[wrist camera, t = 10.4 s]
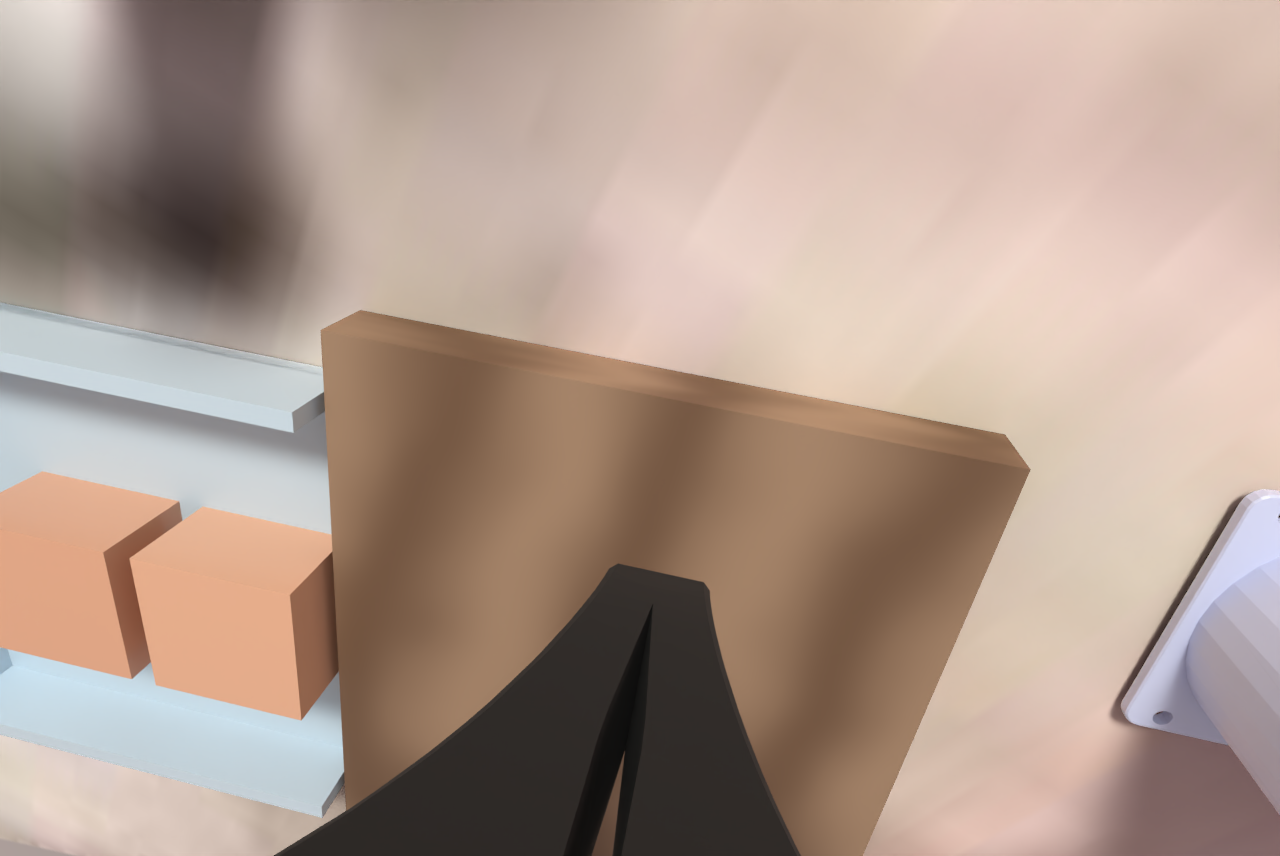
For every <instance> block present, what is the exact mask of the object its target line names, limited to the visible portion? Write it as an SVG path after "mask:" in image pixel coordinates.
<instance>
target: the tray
mask: <svg viewBox="0 0 1280 856" xmlns="http://www.w3.org/2000/svg"><path fill="white" fill-rule="evenodd" d="M42 471H43V472H48V473H52V474H57V475H62V476H66V477H71V478H75V479H80V480H84V481H89V482H94V483H98V484H103V485H107V486H112V487H117V488H121V489H126V490H130V491H135V492H140V493H144V494H149V495H153V496H158V497H162V498H167V499H172V500H176V501H179V503H180V509H181V515H182V521H183V520H184V519H186V518H187V517H188V516H190V515H191V514H193V513H194V512H196V511H197V510H198V509H200V508H201V507H208V508H212V509H217V510H222V511H226V512H231V513H235V514H240V515H245V516H249V517H254V518H258V519H263V520H267V521H272V522H277V523H281V524H286V525H290V526H295V527H300V528H304V529H309V530H313V531H318V532H322V533H327V534H331V515H330V496H329V477H328V458H327V439H326V420H325V402H324V383H323V367H319V366H314V365H309V364H304V363H299V362H294V361H289V360H284V359H279V358H274V357H269V356H264V355H259V354H254V353H249V352H244V351H239V350H234V349H229V348H224V347H219V346H214V345H209V344H204V343H199V342H194V341H190V340H185V339H180V338H175V337H170V336H165V335H160V334H155V333H150V332H145V331H140V330H135V329H130V328H125V327H120V326H115V325H110V324H105V323H100V322H95V321H90V320H85V319H80V318H75V317H70V316H65V315H60V314H55V313H50V312H45V311H40V310H35V309H30V308H25V307H20V306H16V305H11V304H6V303H1V302H0V492H2V491H4V490H6V489H8V488H10V487H12V486H14V485H16V484H18V483H20V482H22V481H24V480H26V479H28V478H30V477H32V476H34V475H36V474H38V473H40V472H42ZM0 735H4V736H7V737H11V738H15V739H19V740H23V741H27V742H31V743H34V744H38V745H42V746H46V747H50V748H54V749H58V750H62V751H65V752H69V753H73V754H77V755H81V756H85V757H89V758H93V759H96V760H100V761H104V762H108V763H112V764H116V765H120V766H123V767H127V768H131V769H135V770H139V771H143V772H147V773H151V774H154V775H158V776H162V777H166V778H170V779H174V780H178V781H182V782H185V783H189V784H193V785H197V786H201V787H205V788H209V789H212V790H216V791H220V792H224V793H228V794H232V795H236V796H240V797H243V798H247V799H251V800H255V801H259V802H263V803H267V804H271V805H274V806H278V807H282V808H286V809H290V810H294V811H298V812H302V813H305V814H309V815H313V816H317V817H321V818H323V816H324V815H325V813H326V811H327V810H328V808H329V807H330V805H331V803H332V802H333V800H334V799H335V797H336V795H337V794H338V792H339V791H340V789H341V787H342V786H343V784H344V783H345V779H344V760H343V741H342V722H341V703H340V684H339V672H338V673H337V674H336V676H335V677H334V678H333V680H332V681H331V682H330V684H329V685H328V686H327V688H326V689H325V690H324V691H323V693H322V694H321V695H320V697H319V698H318V699H317V701H316V702H315V703H314V705H313V706H312V707H311V709H310V710H309V711H308V713H307V714H306V715H305V717H304V718H303V719H302V721H301V720H297V719H293V718H289V717H284V716H280V715H276V714H272V713H268V712H264V711H260V710H256V709H252V708H247V707H243V706H239V705H235V704H231V703H227V702H223V701H219V700H215V699H210V698H206V697H202V696H198V695H194V694H190V693H186V692H182V691H178V690H173V689H169V688H165V687H161V686H157V685H156V684H155V679H154V674H153V669H152V665H151V662H150V663H149V664H148V665H147V666H146V667H145V668H144V669H143V670H142V671H141V672H139V673H138V674H137V675H136V676H135V677H134V678H133V679H129V678H124V677H120V676H116V675H112V674H108V673H104V672H100V671H96V670H92V669H87V668H83V667H79V666H75V665H71V664H67V663H63V662H59V661H55V660H50V659H46V658H42V657H38V656H34V655H30V654H26V653H22V652H18V651H13V650H9V649H5V648H1V647H0Z"/></svg>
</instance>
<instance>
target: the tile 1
mask: <svg viewBox="0 0 1280 856" xmlns="http://www.w3.org/2000/svg"><path fill="white" fill-rule="evenodd" d="M181 521H182V515H181V509H180V503H179V501H176V500H172V499H167V498H162V497H158V496H153V495H149V494H144V493H140V492H135V491H130V490H126V489H121V488H117V487H112V486H107V485H103V484H98V483H94V482H89V481H84V480H80V479H75V478H71V477H66V476H62V475H57V474H52V473H48V472H43V471H42V472H40V473H38V474H36V475H34V476H32V477H30V478H28V479H26V480H24V481H22V482H20V483H18V484H16V485H14V486H12V487H10V488H8V489H6V490H4V491H2V492H0V647H1V648H5V649H9V650H13V651H18V652H22V653H26V654H30V655H34V656H38V657H42V658H46V659H50V660H55V661H59V662H63V663H67V664H71V665H75V666H79V667H83V668H87V669H92V670H96V671H100V672H104V673H108V674H112V675H116V676H120V677H124V678H129V679H133V678H134V677H135V676H136V675H137V674H138V673H139V672H141V671H142V670H143V669H144V668H145V667H146V666H147V665H148V664H149V663H150V662H151V660H150V655H149V650H148V646H147V641H146V636H145V631H144V626H143V622H142V617H141V612H140V607H139V602H138V598H137V593H136V588H135V583H134V578H133V574H132V569H131V564H130V559H129V558H131V557H132V556H134V555H135V554H136V553H138V552H139V551H141V550H142V549H143V548H145V547H146V546H148V545H149V544H150V543H152V542H153V541H155V540H156V539H157V538H159V537H160V536H162V535H163V534H165V533H166V532H167V531H169V530H170V529H172V528H173V527H174V526H176V525H177V524H179V523H180V522H181Z"/></svg>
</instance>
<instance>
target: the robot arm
mask: <svg viewBox="0 0 1280 856" xmlns="http://www.w3.org/2000/svg"><path fill="white" fill-rule="evenodd" d="M1279 515H1280V491H1276V490H1268V489H1261V490H1258V491H1254V492H1252V493H1250V494H1248V495H1247V496H1245V497H1244V498H1243V500H1242V501H1241V502H1240V503H1239V505H1238V507H1237V508H1236V510H1235V512H1234V513H1233V515H1232V517H1231V518H1230V520H1229V522H1228V523H1227V525H1226V527H1225V528H1224V530H1223V532H1222V534H1221V535H1220V537H1219V539H1218V540H1217V542H1216V544H1215V545H1214V547H1213V549H1212V550H1211V552H1210V554H1209V555H1208V557H1207V559H1206V560H1205V562H1204V564H1203V566H1202V567H1201V569H1200V571H1199V572H1198V574H1197V576H1196V577H1195V579H1194V581H1193V582H1192V584H1191V586H1190V587H1189V589H1188V591H1187V592H1186V594H1185V596H1184V597H1183V599H1182V601H1181V603H1180V604H1179V606H1178V608H1177V609H1176V611H1175V613H1174V614H1173V616H1172V618H1171V619H1170V621H1169V623H1168V624H1167V626H1166V628H1165V629H1164V631H1163V633H1162V635H1161V636H1160V638H1159V640H1158V641H1157V643H1156V645H1155V646H1154V648H1153V650H1152V651H1151V653H1150V655H1149V656H1148V658H1147V660H1146V661H1145V663H1144V665H1143V666H1142V668H1141V670H1140V672H1139V673H1138V675H1137V677H1136V678H1135V680H1134V682H1133V683H1132V685H1131V687H1130V688H1129V690H1128V692H1127V693H1126V695H1125V697H1124V698H1123V700H1122V702H1121V710H1122V712H1123V714H1124V715H1125V717H1126V719H1127V720H1128V721H1129V722H1130V723H1133V724H1135V725H1139V726H1144V727H1148V728H1153V729H1157V730H1162V731H1166V732H1170V733H1175V734H1179V735H1184V736H1188V737H1193V738H1197V739H1202V740H1206V741H1211V742H1215V743H1220V744H1224V745H1229V746H1230V748H1231V749H1232V750H1233V752H1234V753H1235V754H1236V756H1237V757H1238V759H1239V760H1240V761H1241V763H1242V764H1243V765H1244V767H1245V768H1246V770H1247V771H1248V772H1249V774H1250V775H1251V776H1252V778H1253V779H1254V781H1255V782H1256V783H1257V785H1258V786H1259V788H1260V789H1261V790H1262V792H1263V793H1264V794H1265V796H1266V797H1267V799H1268V800H1269V801H1270V803H1271V804H1272V805H1273V807H1274V808H1275V810H1276V811H1277V812H1278V814H1279V815H1280V518H1278V517H1279ZM1161 711H1163V712H1162V713H1160V714H1156V713H1158V712H1161ZM624 752H625V754H624ZM623 755H624V762H623V771H622V779H621V787H620V796H619V804H618V812H617V821H616V829H615V838H614V846H613V854H612V856H801V855H800V853H799V851H798V849H797V847H796V845H795V843H794V841H793V839H792V837H791V834H790V832H789V830H788V828H787V826H786V824H785V822H784V820H783V818H782V816H781V814H780V812H779V809H778V807H777V805H776V803H775V801H774V798H773V796H772V794H771V792H770V789H769V787H768V785H767V782H766V780H765V778H764V775H763V773H762V771H761V768H760V766H759V763H758V761H757V758H756V755H755V753H754V750H753V748H752V745H751V743H750V740H749V738H748V735H747V732H746V730H745V727H744V724H743V721H742V719H741V716H740V713H739V710H738V707H737V704H736V701H735V698H734V695H733V691H732V688H731V685H730V682H729V679H728V676H727V673H726V669H725V666H724V662H723V659H722V655H721V651H720V647H719V643H718V639H717V635H716V630H715V625H714V620H713V615H712V608H711V600H710V590H709V589H708V587H707V586H706V584H705V583H704V582H701V581H696V580H692V579H687V578H683V577H678V576H673V575H669V574H664V573H660V572H655V571H650V570H646V569H641V568H637V567H632V566H628V565H623V564H616V565H614V566H613V567H611V568H609V569H608V571H607V573H606V574H605V576H604V578H603V579H602V580H601V582H600V583H599V585H598V586H597V588H596V589H595V590H594V592H593V593H592V594H591V596H590V597H589V598H588V599H587V601H586V602H585V603H584V604H583V606H582V607H581V608H580V609H579V610H578V612H577V613H576V614H575V615H574V616H573V618H572V619H571V620H570V621H569V622H568V623H567V624H566V626H565V627H564V628H563V629H562V630H561V631H560V632H559V633H558V634H557V635H556V636H555V637H554V639H553V640H552V641H551V642H550V643H549V644H548V645H547V646H546V647H545V648H544V649H543V651H542V652H541V653H540V654H539V655H538V656H537V657H536V658H535V659H534V660H533V661H532V662H531V663H530V664H529V665H528V666H527V667H526V668H525V669H524V670H522V671H521V672H520V673H519V674H518V675H517V676H516V677H515V678H514V679H513V680H512V681H511V682H510V683H509V684H508V685H507V686H506V687H505V688H504V689H503V690H502V691H500V692H499V693H498V694H497V695H496V696H495V697H494V698H493V699H492V700H491V701H490V702H489V703H487V704H486V705H485V706H484V707H483V708H482V709H481V710H479V711H478V712H477V713H476V714H475V715H474V716H473V717H471V718H470V719H469V720H468V721H467V722H465V723H464V724H463V725H462V726H461V727H459V728H458V729H457V730H456V731H455V732H453V733H452V734H451V735H450V736H448V737H447V738H446V739H445V740H443V741H442V742H441V743H440V744H438V745H437V746H436V747H435V748H433V749H432V750H431V751H429V752H428V753H427V754H425V755H424V756H423V757H421V758H420V759H419V760H417V761H416V762H415V763H413V764H412V765H410V766H409V767H408V768H406V769H405V770H404V771H402V772H401V773H399V774H398V775H397V776H395V777H394V778H393V779H391V780H390V781H389V782H387V783H386V784H384V785H383V786H382V787H380V788H379V789H378V790H376V791H375V792H373V793H372V794H370V795H369V796H367V797H366V798H364V799H363V800H361V801H360V802H359V803H357V804H356V805H354V806H353V807H351V808H350V809H348V810H347V811H345V812H344V813H342V814H341V815H339V816H337V817H336V818H334V819H332V820H331V821H329V822H328V823H326V824H324V825H323V826H321V827H319V828H318V829H316V830H315V831H313V832H311V833H310V834H308V835H307V836H305V837H303V838H302V839H300V840H298V841H297V842H295V843H294V844H292V845H290V846H289V847H287V848H286V849H284V850H282V851H281V852H279V853H277V854H276V855H274V856H592V853H593V850H594V847H595V843H596V840H597V837H598V834H599V831H600V828H601V825H602V821H603V818H604V815H605V812H606V809H607V806H608V803H609V799H610V796H611V793H612V790H613V787H614V784H615V780H616V777H617V774H618V771H619V768H620V765H621V761H622V758H623Z"/></svg>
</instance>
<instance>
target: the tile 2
mask: <svg viewBox="0 0 1280 856" xmlns="http://www.w3.org/2000/svg"><path fill="white" fill-rule="evenodd" d="M129 559H130V564H131V569H132V574H133V578H134V583H135V588H136V593H137V598H138V602H139V607H140V612H141V617H142V622H143V626H144V631H145V636H146V641H147V646H148V650H149V655H150V660H151V665H152V669H153V674H154V679H155V684H156V685H157V686H161V687H165V688H169V689H173V690H178V691H182V692H186V693H190V694H194V695H198V696H202V697H206V698H210V699H215V700H219V701H223V702H227V703H231V704H235V705H239V706H243V707H247V708H252V709H256V710H260V711H264V712H268V713H272V714H276V715H280V716H284V717H289V718H293V719H297V720H301V721H302V719H303V718H304V717H305V715H306V714H307V713H308V711H309V710H310V709H311V707H312V706H313V705H314V703H315V702H316V701H317V699H318V698H319V697H320V695H321V694H322V693H323V691H324V690H325V689H326V688H327V686H328V685H329V684H330V682H331V681H332V680H333V678H334V677H335V676H336V674H337V673H338V672H339V666H338V647H337V628H336V609H335V590H334V571H333V552H332V534H327V533H322V532H318V531H313V530H309V529H304V528H300V527H295V526H290V525H286V524H281V523H277V522H272V521H267V520H263V519H258V518H254V517H249V516H245V515H240V514H235V513H231V512H226V511H222V510H217V509H212V508H208V507H201V508H200V509H198V510H197V511H196V512H194V513H193V514H191V515H190V516H188V517H187V518H186V519H184V520H183V521H181V522H180V523H179V524H177V525H176V526H174V527H173V528H172V529H170V530H169V531H167V532H166V533H165V534H163V535H162V536H160V537H159V538H157V539H156V540H155V541H153V542H152V543H150V544H149V545H148V546H146V547H145V548H143V549H142V550H141V551H139V552H138V553H136V554H135V555H134V556H132V557H131V558H129Z"/></svg>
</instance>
